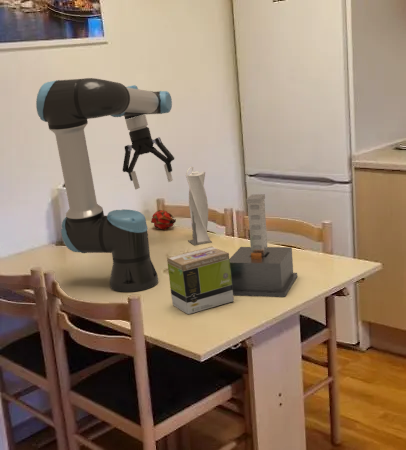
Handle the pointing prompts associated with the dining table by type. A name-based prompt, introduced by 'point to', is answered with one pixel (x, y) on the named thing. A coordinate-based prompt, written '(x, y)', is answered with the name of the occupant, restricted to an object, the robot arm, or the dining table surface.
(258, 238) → the column
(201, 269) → the tea box
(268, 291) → the stand base
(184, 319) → the dining table surface
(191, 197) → the skyscraper
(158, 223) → the dragon fruit
